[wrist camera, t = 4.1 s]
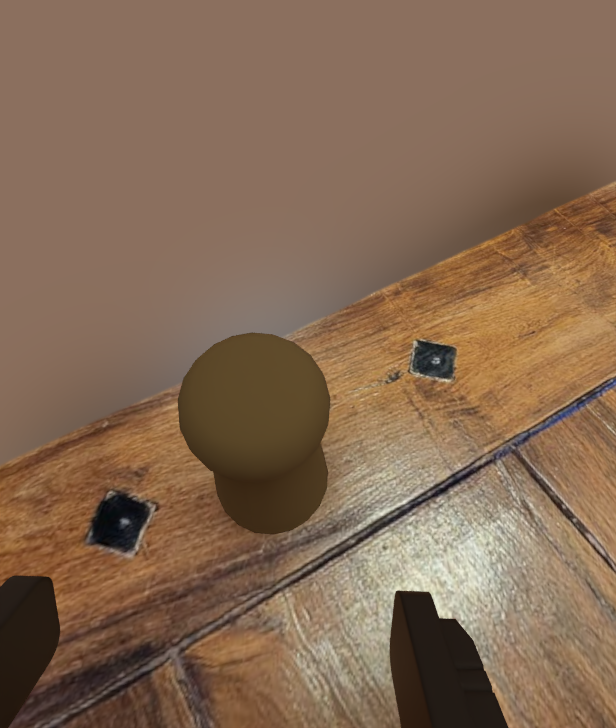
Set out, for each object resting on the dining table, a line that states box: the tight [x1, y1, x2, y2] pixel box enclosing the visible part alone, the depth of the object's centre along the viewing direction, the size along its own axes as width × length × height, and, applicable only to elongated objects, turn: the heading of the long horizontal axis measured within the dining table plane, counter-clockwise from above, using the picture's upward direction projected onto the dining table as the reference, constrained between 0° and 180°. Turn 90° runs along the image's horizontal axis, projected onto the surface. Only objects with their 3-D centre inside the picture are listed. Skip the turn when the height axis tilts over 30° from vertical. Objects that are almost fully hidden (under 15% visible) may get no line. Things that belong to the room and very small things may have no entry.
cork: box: [178, 333, 330, 534], centre depth 18 cm, size 6×6×11 cm
